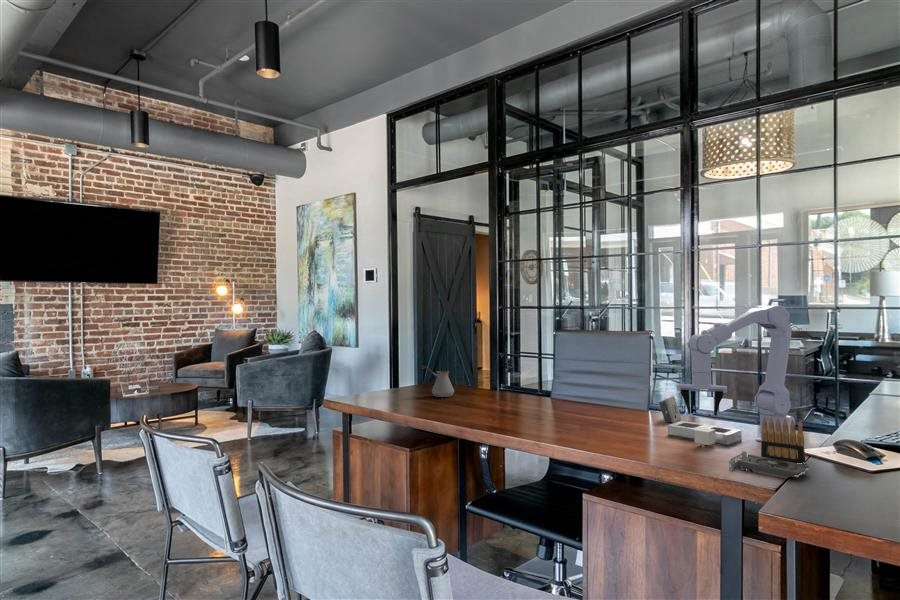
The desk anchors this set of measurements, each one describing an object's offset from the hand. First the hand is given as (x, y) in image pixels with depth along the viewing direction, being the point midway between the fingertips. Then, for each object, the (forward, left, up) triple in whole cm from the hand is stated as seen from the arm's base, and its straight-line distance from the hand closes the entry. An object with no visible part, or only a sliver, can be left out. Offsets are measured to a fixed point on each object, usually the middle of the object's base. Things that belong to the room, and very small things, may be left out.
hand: (702, 414), depth 174 cm
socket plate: (+3, -8, -10) cm, 13 cm away
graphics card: (-25, +17, -10) cm, 32 cm away
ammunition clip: (-24, +2, -10) cm, 26 cm away
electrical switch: (+24, -26, -10) cm, 37 cm away
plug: (-2, +2, -10) cm, 10 cm away
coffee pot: (+135, +1, -10) cm, 135 cm away
